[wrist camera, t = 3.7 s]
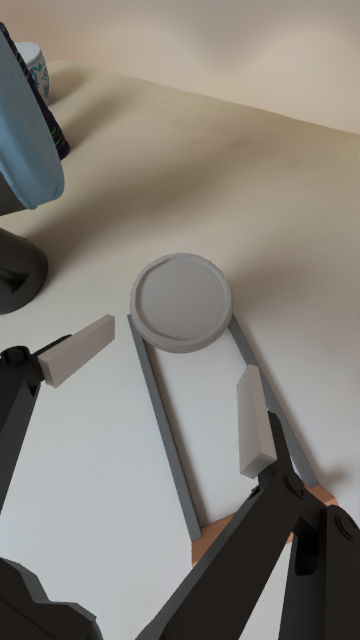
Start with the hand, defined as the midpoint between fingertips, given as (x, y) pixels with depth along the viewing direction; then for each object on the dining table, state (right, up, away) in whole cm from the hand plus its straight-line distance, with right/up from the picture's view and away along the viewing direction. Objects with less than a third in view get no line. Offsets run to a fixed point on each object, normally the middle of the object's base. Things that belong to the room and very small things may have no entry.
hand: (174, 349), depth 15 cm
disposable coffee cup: (+1, +1, +10) cm, 10 cm away
